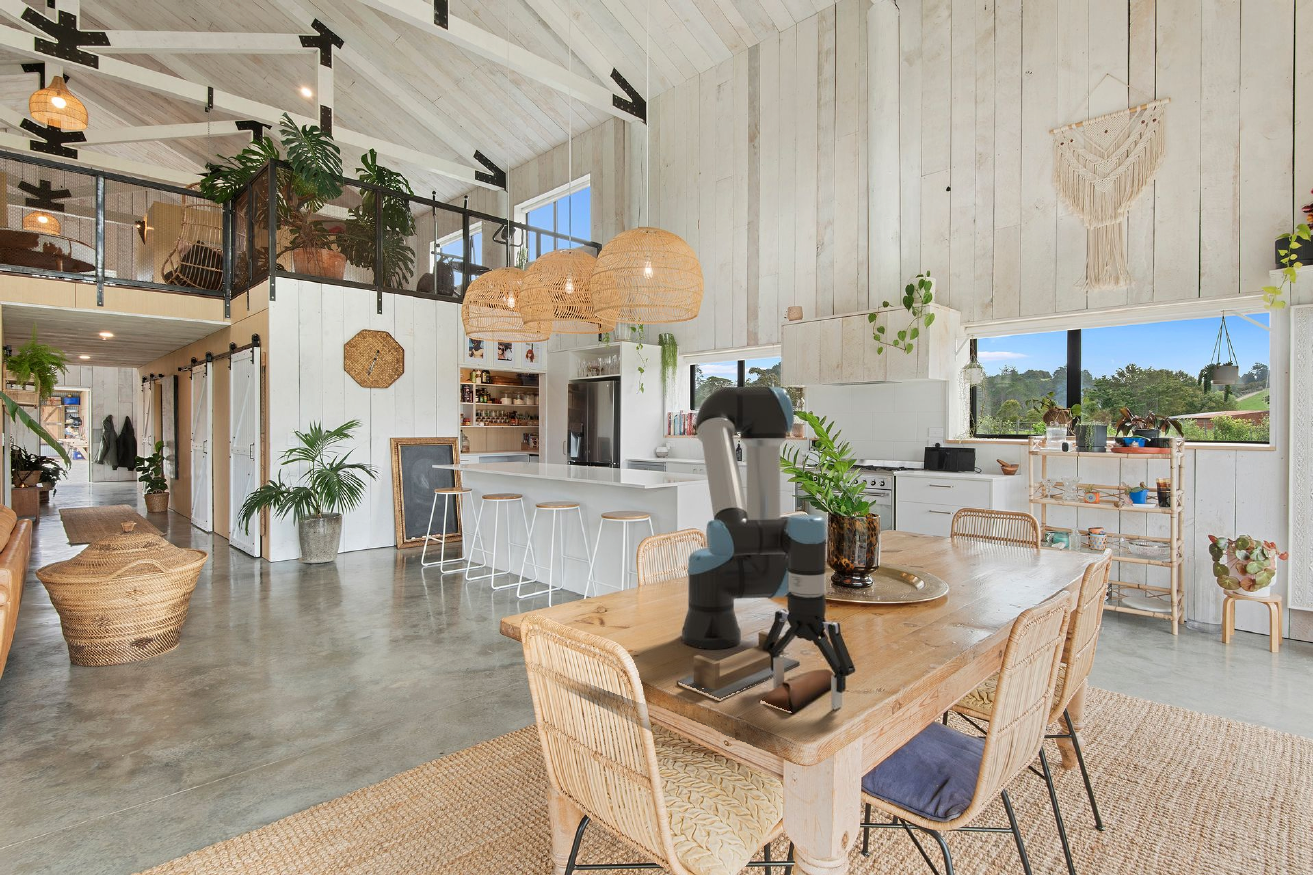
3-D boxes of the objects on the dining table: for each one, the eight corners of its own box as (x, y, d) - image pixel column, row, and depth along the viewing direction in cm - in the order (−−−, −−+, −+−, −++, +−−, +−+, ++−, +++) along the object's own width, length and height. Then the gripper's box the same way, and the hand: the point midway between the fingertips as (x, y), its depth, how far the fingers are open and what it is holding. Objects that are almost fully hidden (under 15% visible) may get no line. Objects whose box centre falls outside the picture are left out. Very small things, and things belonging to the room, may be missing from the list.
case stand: (676, 684, 140) (676, 655, 140) (757, 652, 160) (757, 626, 160) (719, 701, 132) (719, 670, 132) (799, 665, 151) (799, 637, 151)
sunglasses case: (799, 675, 145) (814, 653, 142) (825, 699, 141) (840, 676, 138) (755, 702, 131) (770, 678, 129) (782, 730, 127) (798, 705, 125)
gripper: (745, 585, 139) (746, 684, 140) (853, 608, 121) (853, 722, 122) (767, 579, 144) (767, 675, 145) (873, 600, 126) (873, 710, 127)
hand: (806, 697), depth 133 cm, fingers open, 13 cm apart
